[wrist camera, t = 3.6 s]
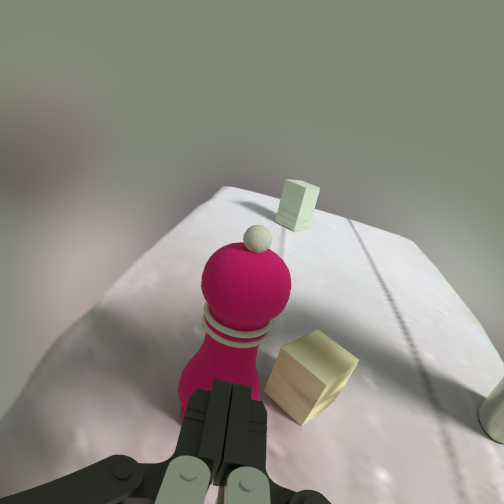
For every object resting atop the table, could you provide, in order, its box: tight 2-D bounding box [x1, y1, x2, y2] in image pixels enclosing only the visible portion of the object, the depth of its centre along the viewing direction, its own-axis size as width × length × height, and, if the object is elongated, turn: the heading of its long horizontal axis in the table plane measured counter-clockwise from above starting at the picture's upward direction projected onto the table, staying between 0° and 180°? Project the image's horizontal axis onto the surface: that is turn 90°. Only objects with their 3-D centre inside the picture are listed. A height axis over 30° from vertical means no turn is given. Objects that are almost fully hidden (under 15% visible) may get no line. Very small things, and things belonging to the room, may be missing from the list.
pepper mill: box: [178, 225, 291, 421], centre depth 23 cm, size 7×7×20 cm
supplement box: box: [275, 180, 320, 231], centre depth 85 cm, size 7×7×13 cm
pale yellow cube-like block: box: [264, 329, 359, 426], centre depth 31 cm, size 6×6×7 cm
